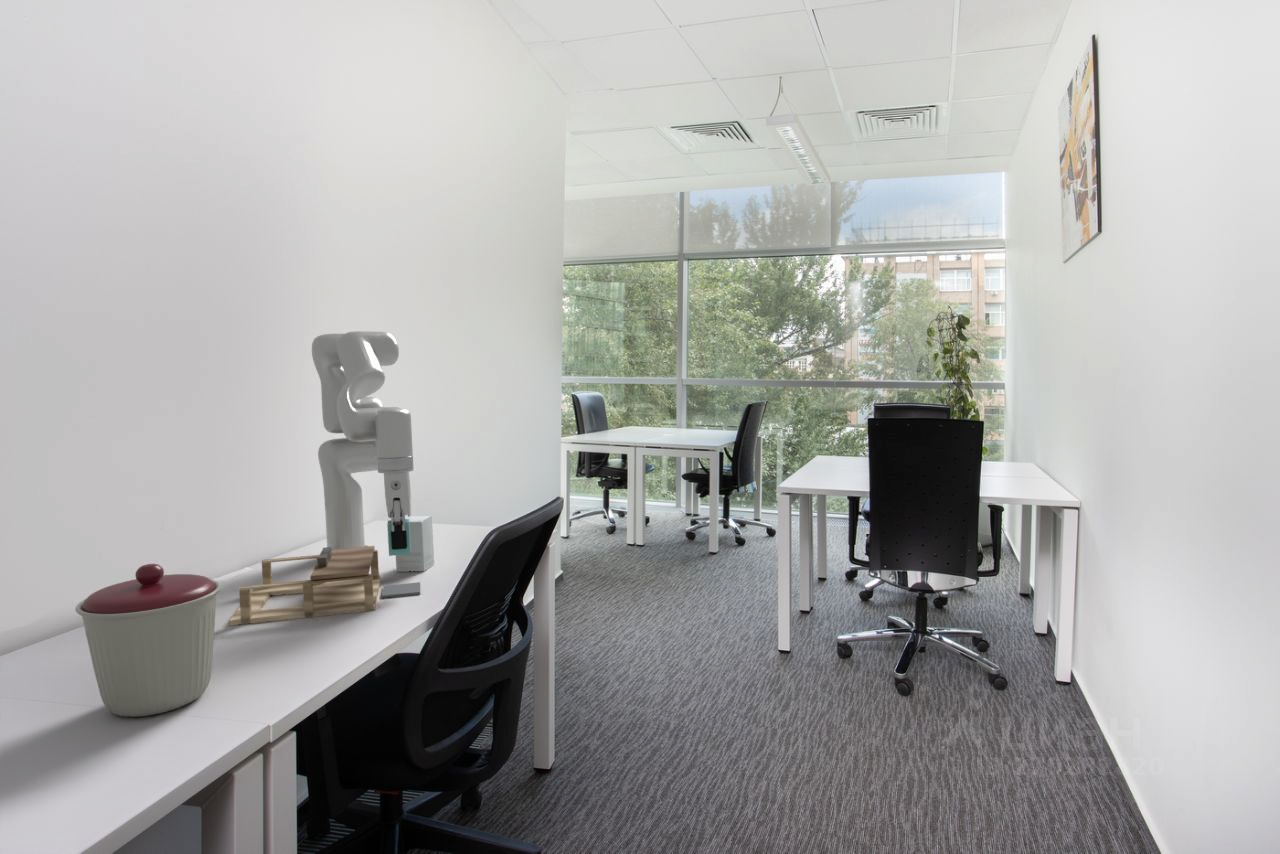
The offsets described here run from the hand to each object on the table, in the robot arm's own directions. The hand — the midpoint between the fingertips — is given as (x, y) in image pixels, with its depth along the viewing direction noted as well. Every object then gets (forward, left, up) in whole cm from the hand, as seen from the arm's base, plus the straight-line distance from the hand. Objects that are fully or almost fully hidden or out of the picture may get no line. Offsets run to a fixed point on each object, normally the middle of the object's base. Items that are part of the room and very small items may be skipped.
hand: (399, 545), depth 166 cm
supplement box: (-20, +3, -11) cm, 23 cm away
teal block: (0, 0, -2) cm, 2 cm away
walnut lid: (0, -12, -3) cm, 12 cm away
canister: (+47, -34, -11) cm, 59 cm away
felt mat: (0, 0, -10) cm, 10 cm away
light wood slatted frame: (0, -19, -10) cm, 21 cm away
